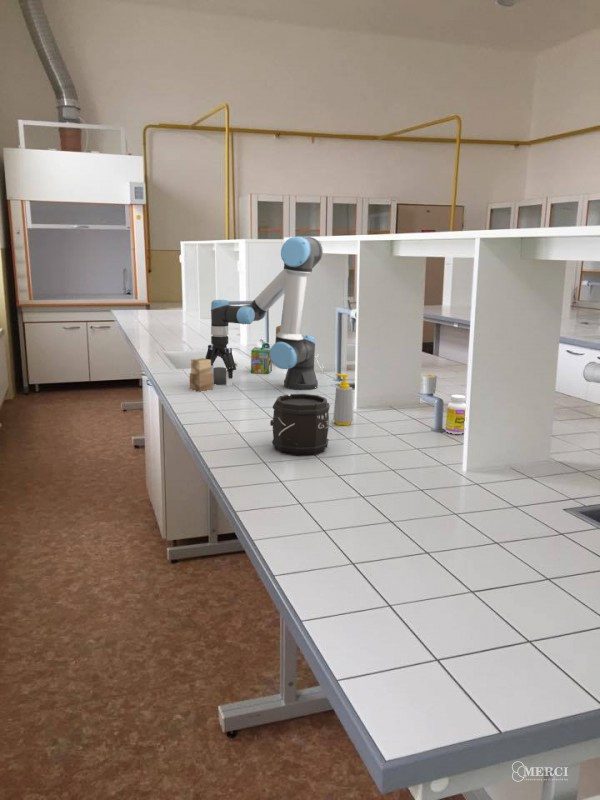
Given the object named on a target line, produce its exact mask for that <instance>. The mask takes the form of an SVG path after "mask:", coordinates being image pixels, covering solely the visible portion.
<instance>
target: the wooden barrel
mask: <svg viewBox="0 0 600 800" xmlns="http://www.w3.org/2000/svg"><path fill="white" fill-rule="evenodd" d="M330 406H331V405H330V403H329V402H328V399H327V398H326V397H323V396H320V395H318V394H309V393H290V395H289V394H283V395H280V396H278V397H277V398H276V400H275V401H274V403H273V404H272V409H273V416H272V419H270V422H269V425H270V426H271V427H272V438H273V439H272V440H271V443H272V445H273V446H274V449H275V450H276V451H277V452H279V453H280V454H283V455H288V456H294V457H312V456H313V457H314V456H316V455H320V454H322V453H325V449H326V448H328V444H329V440H330V439H329V438H328V434H329V423H330V422H329V421H330V419H329V418H330V415H329V411H330Z"/></svg>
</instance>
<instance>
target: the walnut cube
mask: <svg viewBox="0 0 600 800" xmlns="http://www.w3.org/2000/svg"><path fill="white" fill-rule="evenodd" d="M190 389H192V390H191V391H194V390H196V391H195V392H197V391H199V392H198V393H202V392H201V391H204V392H208V391H207V390H210V391H213V390H214V381H213V374H207V375H200V376H199V375H196V374H192V373H191V372H190V373H189V390H190Z"/></svg>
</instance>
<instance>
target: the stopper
mask: <svg viewBox="0 0 600 800" xmlns="http://www.w3.org/2000/svg"><path fill="white" fill-rule="evenodd" d="M226 371H227V368H226V367H224V366H216V367H214V381H213V385H215V384H216V385H217V386H223V385H225V386H226Z"/></svg>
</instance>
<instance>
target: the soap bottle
mask: <svg viewBox="0 0 600 800" xmlns="http://www.w3.org/2000/svg"><path fill="white" fill-rule="evenodd" d="M349 375H350V373H334V376H337V377H342V379H343V380H342V381H341V382H340V384H339V386H336V387H335V397H334V405H333V406H334V407H333V422H334V424H336V425H337V426H349V425H350V426H351V424H352V422H353V420H354V419H353V416H354V415H353V413H354V411H353V407H354V404H353V395H354V394H353V392H354V391H353V386H350V384H348V383H349V382H348V381H347V379H348V376H349Z"/></svg>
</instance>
